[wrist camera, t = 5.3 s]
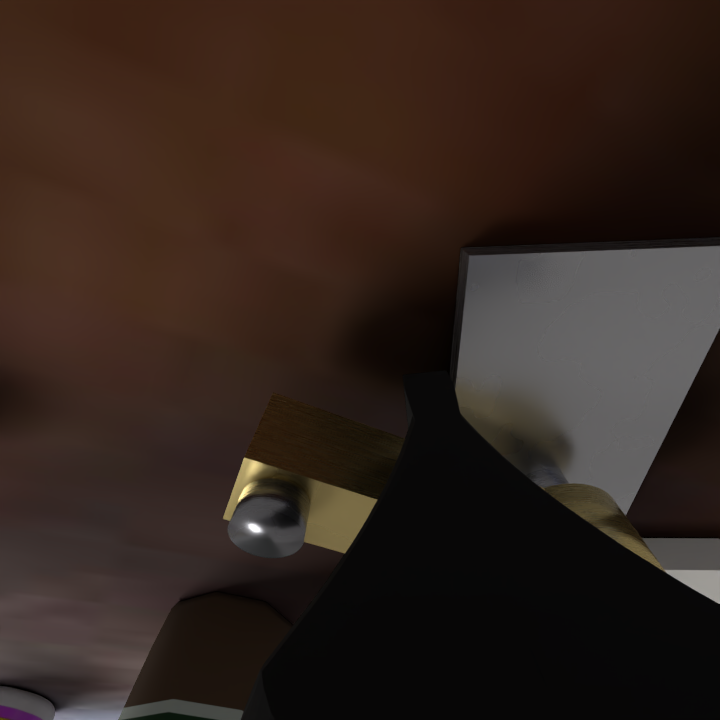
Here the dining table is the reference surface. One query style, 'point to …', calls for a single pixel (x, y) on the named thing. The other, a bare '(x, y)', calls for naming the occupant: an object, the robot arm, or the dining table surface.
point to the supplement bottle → (24, 705)
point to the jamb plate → (582, 352)
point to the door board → (690, 562)
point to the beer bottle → (206, 659)
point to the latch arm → (347, 485)
